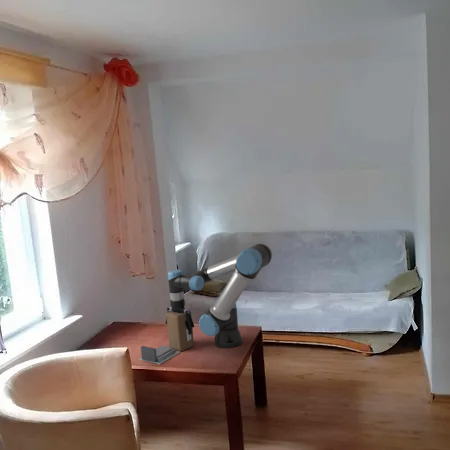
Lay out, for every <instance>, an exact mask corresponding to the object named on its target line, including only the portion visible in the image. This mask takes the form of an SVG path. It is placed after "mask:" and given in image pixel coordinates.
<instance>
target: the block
mask: <svg viewBox="0 0 450 450" xmlns="http://www.w3.org/2000/svg"><path fill="white" fill-rule="evenodd" d="M190 315H191V318H192V319H193V317H192V311H191V310H190ZM165 316H166V317H167V324H166V325H167V335H168V336H167V337H168V347H172V348H173V349H176V351H180V352H183V351H185V350H187V349H190V348H191V347H194V345H195V341H194V331H193V328H194V327H193V328H191V330H192V334H191V340H189V341H187V333H186V329H187V327H186V325H185V321H187V318H186V315H185V312H183V313H177V312H175V313H174V312H173V311H171V312H168V313H167V312H166V314H165ZM166 317H165V318H166Z"/></svg>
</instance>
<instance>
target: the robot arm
mask: <svg viewBox="0 0 450 450" xmlns="http://www.w3.org/2000/svg"><path fill="white" fill-rule="evenodd" d="M272 257H273V253H272V250H271V248H270V247H269V246H268V245H266V244H263V243H257V244H254V245H252V246H251V247H248V248H245V249H243V250H242V251H241V252H240V253H239V254H238V255H236V256H233V257H230V258H229V259H226V260H223V261H220V262H218V263H215V264H213V265H210V266H208V267H204V268H201V269H200V270H198V271H196V272H194V273H192V274H183V271H182V270H181V269H173V270H169V271H168V272H167V282H168V288H169V299H170V306H168V307H167V308H166V310H167V311H166V313H168V312H171V311H173V312H174V313H175V312H177V313H183V312H185V315H186V318H187V321H185V325H186V327H187V329H186V333H187V341H189V340H191V334H192V330H191V328H195V325H194V321H193V317H192V314H191V315H190V311H191V310H190V308H188V309H186V308H185V305H186V304H185V303H186V302H185V291H184V290H188V291H201V290H202V289H203V288H204V285H205V284H207V283H210V282H212V281H215V280H218V279H221V278H224V277H225V276H228V275H231V274H232V275H231V277H230V279H229V280H228V282H227V283H226V285H225V286H224V289H223V290H222V292H221V293H220V294H219V297H218V299H217V300H216V301H215V303H211V304H210V306H209V307H208V309H207V310H206V312H205V314H202V315H201V316H200V318H199V320H198V326H199V329H200V330H201V332H202V333H203V334H204V335H206V336H208V337H214V340H213V341H214V345H215V346H216V347H219V348H224V349H229V348H230V349H231V348H235V347H238V346H240V345H241V344H242V343H243V336H242V335H241V331H240V330H239V322H238V308H237V301H238V300H239V299H240V297H241V295H242V294H243V292H244V291H245V289H246V287H247V286H248V284H249V282H250V281H251V280H255V279H256V278H257V276H258V275H259V273H260V271H261V270H262V269H263V268H265V267H266V266H268V265H269V264H270V263H271V261H272ZM191 317H192V318H191ZM165 325H167V317H165Z"/></svg>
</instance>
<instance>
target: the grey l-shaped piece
mask: <svg viewBox="0 0 450 450" xmlns="http://www.w3.org/2000/svg"><path fill="white" fill-rule="evenodd" d="M180 353H181V351H178V350H176V349H173V348H172V347H170V346H168V345H160V346H159V347H156V348H155V347H150V346H145V345H141V346H140V354H141V357H139V358H138V359H139V361H143V362H148V363H151V364H156V365H161V364H163V363H165V362H166V361H168V360H170V359H173V358H174V357H175V356H177V355H178V354H180Z"/></svg>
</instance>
